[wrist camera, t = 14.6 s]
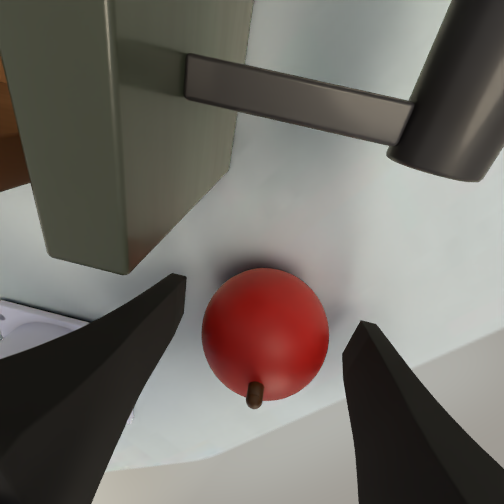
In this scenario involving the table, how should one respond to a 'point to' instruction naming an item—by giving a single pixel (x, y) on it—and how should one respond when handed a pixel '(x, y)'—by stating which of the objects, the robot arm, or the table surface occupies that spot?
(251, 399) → the apple
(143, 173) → the drawer
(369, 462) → the robot arm
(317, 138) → the table surface
